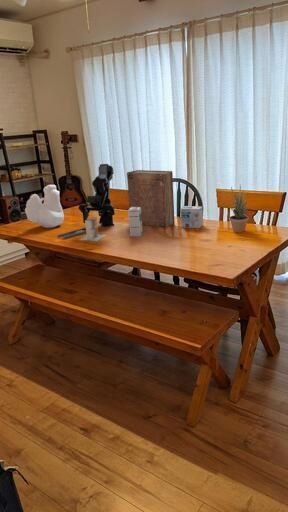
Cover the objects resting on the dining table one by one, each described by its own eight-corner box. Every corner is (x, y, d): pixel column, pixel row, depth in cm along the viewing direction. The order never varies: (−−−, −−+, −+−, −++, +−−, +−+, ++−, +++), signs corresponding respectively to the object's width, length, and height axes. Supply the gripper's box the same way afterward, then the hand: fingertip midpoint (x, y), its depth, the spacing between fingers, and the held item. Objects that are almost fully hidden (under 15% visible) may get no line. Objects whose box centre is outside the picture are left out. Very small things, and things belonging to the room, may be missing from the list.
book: (175, 224, 233) (172, 171, 223) (165, 228, 226) (162, 173, 216) (140, 220, 248) (137, 170, 238) (130, 223, 241) (126, 172, 232)
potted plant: (227, 232, 210) (227, 184, 202) (232, 227, 217) (232, 181, 210) (246, 234, 205) (247, 184, 197) (251, 229, 213) (252, 181, 205)
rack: (85, 230, 233) (84, 227, 233) (92, 231, 228) (91, 229, 228) (57, 237, 222) (57, 234, 221) (64, 239, 217) (64, 236, 216)
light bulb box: (180, 227, 225) (180, 208, 222) (184, 224, 231) (183, 205, 228) (199, 228, 221) (199, 208, 218) (202, 225, 227) (202, 206, 224)
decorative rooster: (58, 221, 259) (52, 182, 251) (70, 225, 247) (65, 184, 239) (20, 229, 244) (13, 188, 236) (32, 234, 232) (25, 190, 225)
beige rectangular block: (93, 235, 220) (91, 217, 217) (98, 235, 219) (96, 217, 215) (87, 239, 214) (84, 220, 210) (92, 239, 212) (90, 220, 209)
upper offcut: (81, 231, 229) (80, 230, 229) (84, 232, 227) (84, 230, 227) (74, 233, 226) (74, 232, 226) (78, 234, 224) (78, 232, 224)
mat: (88, 234, 223) (88, 234, 223) (106, 235, 219) (106, 235, 219) (78, 240, 213) (78, 239, 213) (97, 241, 209) (96, 240, 209)
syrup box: (140, 236, 213) (139, 209, 209) (129, 236, 215) (127, 209, 210) (143, 233, 219) (141, 206, 214) (132, 233, 220) (130, 207, 215)
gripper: (77, 189, 217) (69, 214, 211) (109, 189, 210) (101, 215, 204) (86, 201, 226) (78, 225, 220) (117, 201, 219) (109, 226, 213)
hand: (91, 223), depth 214 cm, fingers open, 9 cm apart
